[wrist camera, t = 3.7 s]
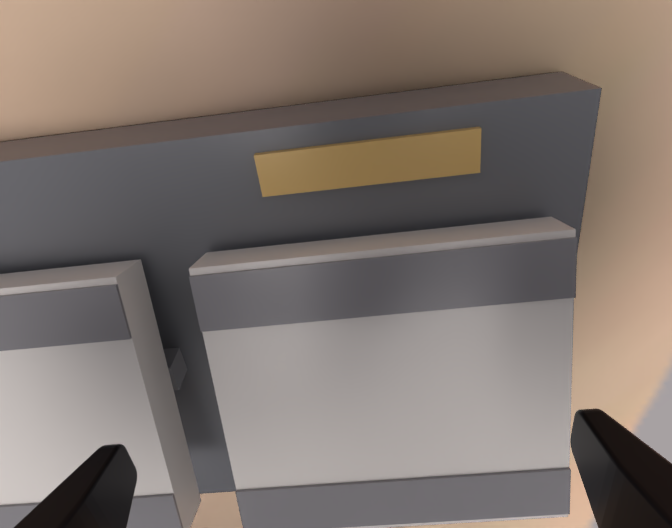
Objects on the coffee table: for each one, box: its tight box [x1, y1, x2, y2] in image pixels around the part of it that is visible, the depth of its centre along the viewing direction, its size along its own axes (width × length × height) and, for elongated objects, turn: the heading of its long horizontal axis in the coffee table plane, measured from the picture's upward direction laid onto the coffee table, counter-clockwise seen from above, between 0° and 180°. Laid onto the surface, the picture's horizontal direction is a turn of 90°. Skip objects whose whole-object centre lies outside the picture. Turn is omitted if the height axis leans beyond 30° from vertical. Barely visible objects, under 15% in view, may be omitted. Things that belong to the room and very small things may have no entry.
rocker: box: [0, 259, 201, 528], centre depth 15 cm, size 9×10×2 cm
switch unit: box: [0, 72, 602, 494], centre depth 17 cm, size 15×24×4 cm, turn 97°
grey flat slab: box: [189, 217, 577, 528], centre depth 14 cm, size 9×10×2 cm
